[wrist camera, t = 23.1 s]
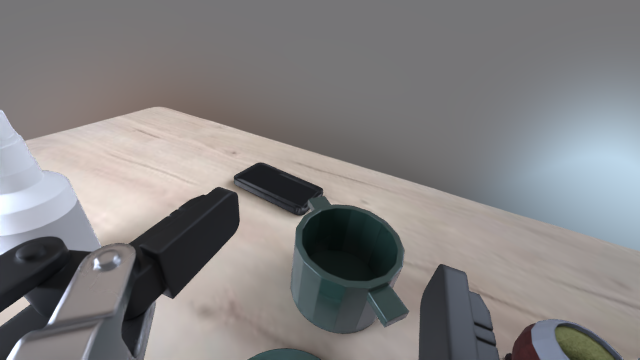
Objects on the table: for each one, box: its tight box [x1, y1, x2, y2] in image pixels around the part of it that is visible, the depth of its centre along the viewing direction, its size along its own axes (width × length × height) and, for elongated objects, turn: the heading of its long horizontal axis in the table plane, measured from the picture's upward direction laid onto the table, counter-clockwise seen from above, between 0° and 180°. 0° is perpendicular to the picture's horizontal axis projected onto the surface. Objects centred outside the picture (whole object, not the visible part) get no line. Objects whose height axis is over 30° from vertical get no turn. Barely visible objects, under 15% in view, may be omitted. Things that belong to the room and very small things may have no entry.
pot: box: [291, 196, 409, 334], centre depth 29 cm, size 11×17×8 cm
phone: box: [234, 163, 323, 215], centre depth 46 cm, size 8×1×15 cm
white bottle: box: [0, 110, 101, 255], centre depth 24 cm, size 7×7×18 cm
